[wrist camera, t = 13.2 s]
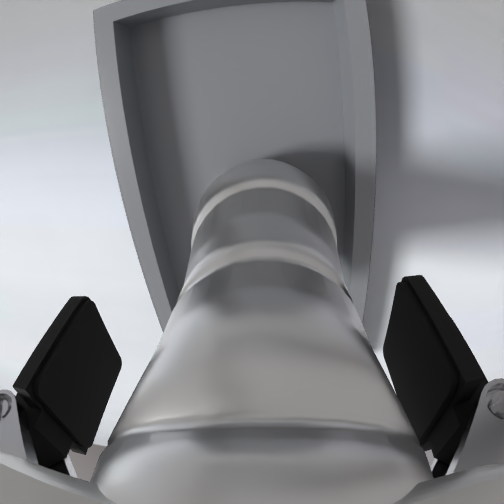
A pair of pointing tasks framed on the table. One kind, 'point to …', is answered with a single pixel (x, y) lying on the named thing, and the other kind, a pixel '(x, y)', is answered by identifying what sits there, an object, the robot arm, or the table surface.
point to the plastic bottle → (263, 368)
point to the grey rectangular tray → (236, 116)
